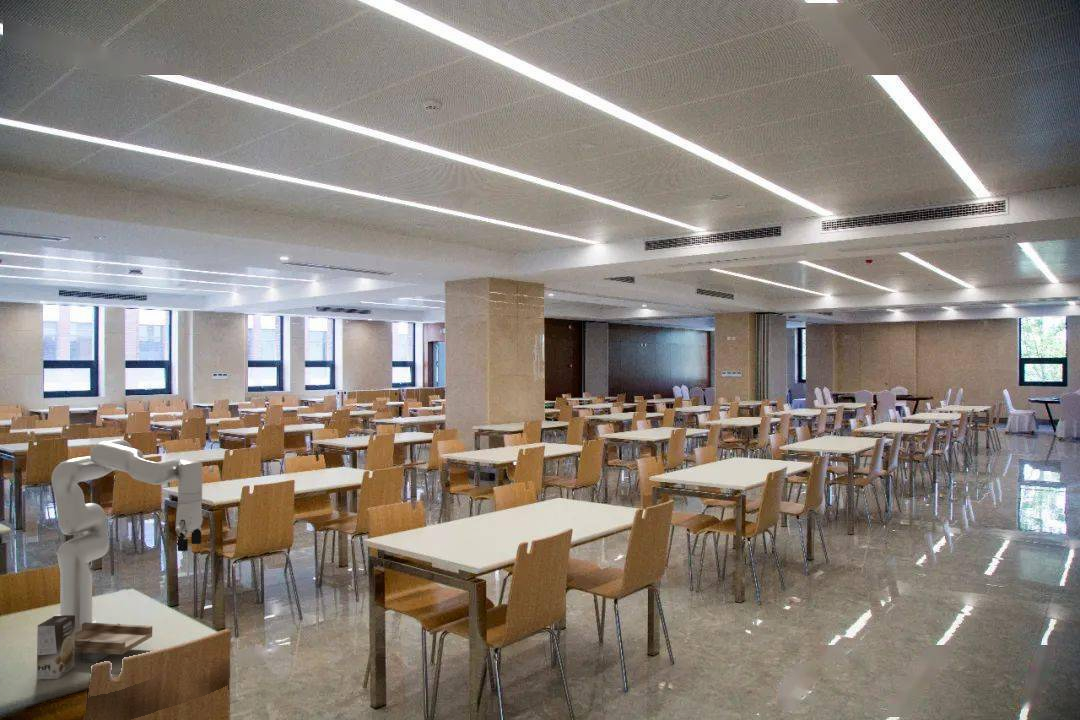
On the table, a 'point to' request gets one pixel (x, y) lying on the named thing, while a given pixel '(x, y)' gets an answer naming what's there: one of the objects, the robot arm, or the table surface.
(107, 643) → the brown wooden tray
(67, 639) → the coffee box
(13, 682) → the table surface
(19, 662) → the table surface
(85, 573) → the robot arm
